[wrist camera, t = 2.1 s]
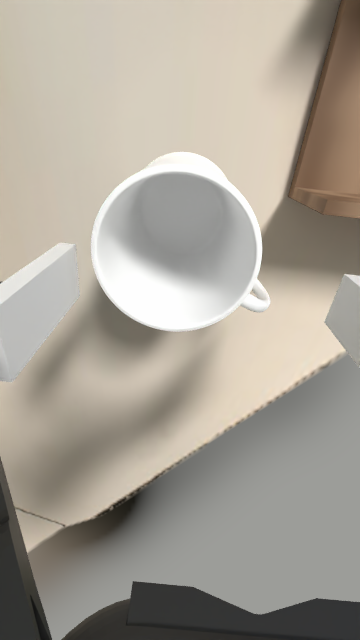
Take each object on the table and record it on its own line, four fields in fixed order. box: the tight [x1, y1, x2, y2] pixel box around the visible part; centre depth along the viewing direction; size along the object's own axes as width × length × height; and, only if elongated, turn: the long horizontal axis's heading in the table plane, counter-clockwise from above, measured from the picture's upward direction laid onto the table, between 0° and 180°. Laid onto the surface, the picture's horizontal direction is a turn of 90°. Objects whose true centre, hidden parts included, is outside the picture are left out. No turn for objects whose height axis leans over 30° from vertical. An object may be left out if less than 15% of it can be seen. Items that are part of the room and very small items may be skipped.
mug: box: [91, 152, 270, 332], centre depth 19 cm, size 12×8×12 cm
